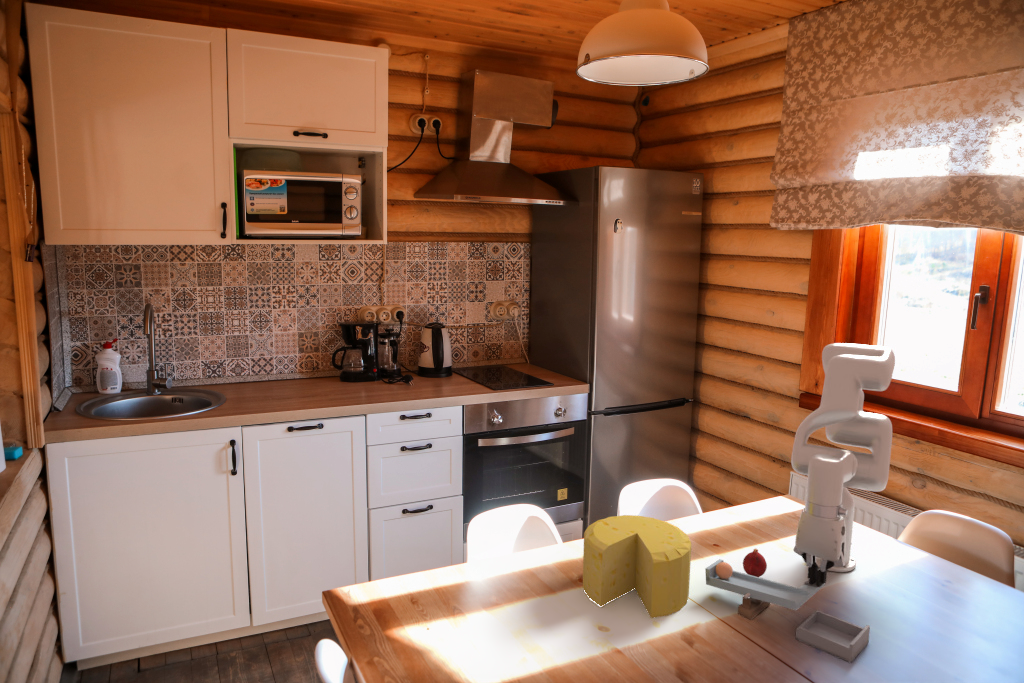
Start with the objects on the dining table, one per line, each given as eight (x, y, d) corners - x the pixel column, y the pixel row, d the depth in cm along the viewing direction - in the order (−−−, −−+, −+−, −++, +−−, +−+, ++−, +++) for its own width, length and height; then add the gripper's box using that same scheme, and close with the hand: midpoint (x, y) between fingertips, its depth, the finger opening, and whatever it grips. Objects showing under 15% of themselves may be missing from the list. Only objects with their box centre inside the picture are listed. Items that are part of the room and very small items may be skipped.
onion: (767, 585, 172) (769, 555, 171) (743, 582, 173) (745, 553, 172) (763, 574, 177) (765, 545, 176) (740, 571, 179) (742, 543, 177)
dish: (814, 621, 156) (815, 605, 155) (868, 642, 147) (870, 625, 147) (795, 639, 149) (796, 622, 148) (851, 663, 140) (852, 645, 140)
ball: (722, 575, 168) (718, 559, 168) (737, 576, 165) (733, 560, 165) (714, 581, 165) (710, 564, 166) (729, 582, 162) (725, 565, 163)
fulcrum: (757, 598, 165) (758, 581, 164) (770, 603, 163) (771, 586, 162) (737, 614, 158) (738, 596, 158) (750, 619, 156) (752, 601, 155)
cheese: (619, 628, 152) (621, 566, 150) (563, 576, 176) (565, 521, 173) (711, 604, 163) (714, 545, 160) (647, 557, 186) (649, 505, 184)
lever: (737, 563, 176) (737, 548, 176) (824, 585, 161) (823, 568, 160) (702, 586, 164) (702, 570, 164) (793, 613, 148) (792, 595, 148)
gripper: (863, 513, 154) (856, 590, 156) (796, 495, 164) (790, 567, 167) (852, 522, 148) (845, 601, 151) (783, 503, 159) (777, 577, 161)
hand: (816, 583), depth 159 cm, fingers closed
